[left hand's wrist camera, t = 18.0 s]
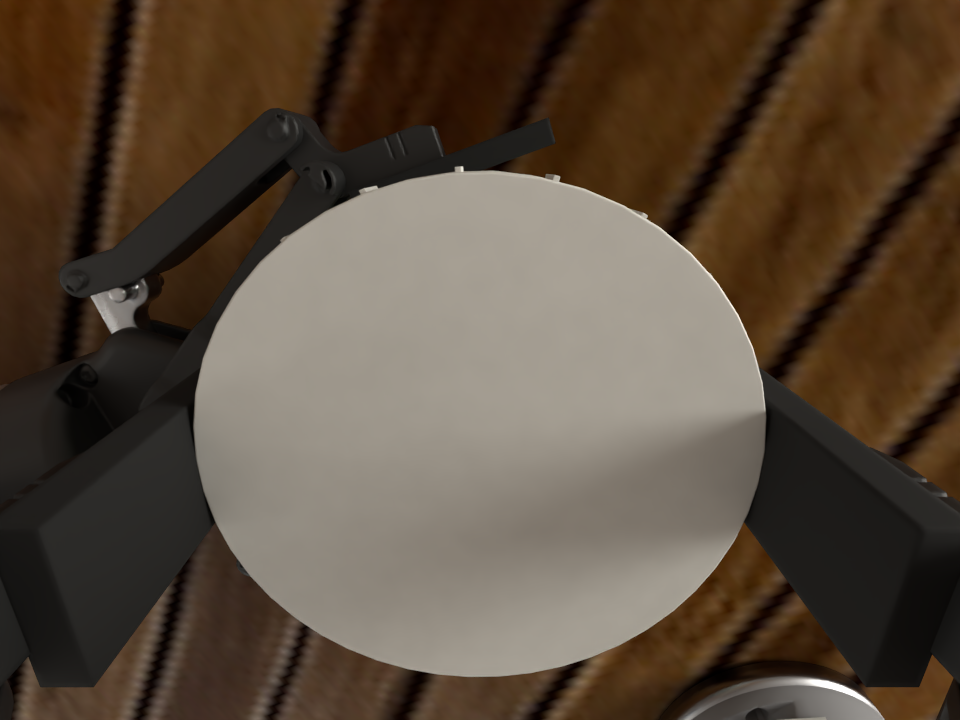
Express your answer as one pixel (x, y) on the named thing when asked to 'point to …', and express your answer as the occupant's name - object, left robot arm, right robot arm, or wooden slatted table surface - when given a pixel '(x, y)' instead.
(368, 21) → the wooden slatted table surface
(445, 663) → the lid
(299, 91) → the wooden slatted table surface
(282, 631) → the wooden slatted table surface
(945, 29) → the wooden slatted table surface
